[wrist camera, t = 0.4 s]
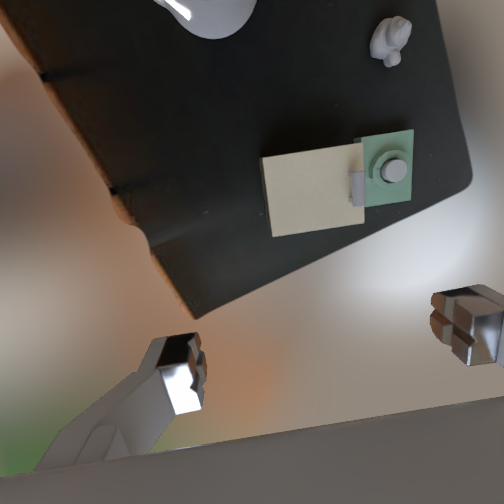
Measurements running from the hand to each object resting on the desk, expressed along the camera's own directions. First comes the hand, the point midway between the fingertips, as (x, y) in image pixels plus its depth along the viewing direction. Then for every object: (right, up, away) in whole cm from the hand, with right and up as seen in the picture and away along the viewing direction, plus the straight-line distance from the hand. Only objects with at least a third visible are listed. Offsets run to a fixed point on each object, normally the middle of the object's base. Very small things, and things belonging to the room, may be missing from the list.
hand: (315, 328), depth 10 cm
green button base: (+21, +18, +42) cm, 50 cm away
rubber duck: (+19, +36, +36) cm, 54 cm away
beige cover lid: (+8, +12, +35) cm, 38 cm away
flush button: (+22, +17, +38) cm, 46 cm away
